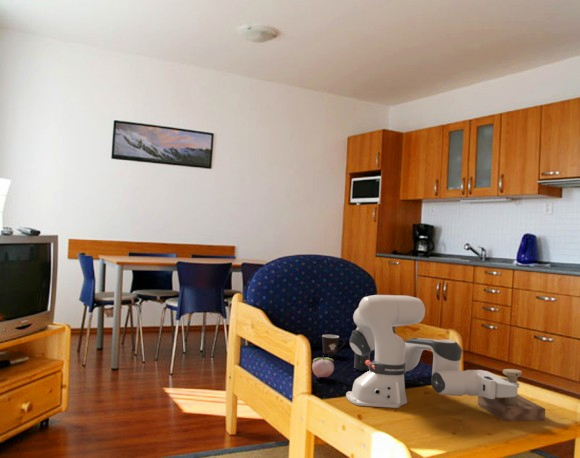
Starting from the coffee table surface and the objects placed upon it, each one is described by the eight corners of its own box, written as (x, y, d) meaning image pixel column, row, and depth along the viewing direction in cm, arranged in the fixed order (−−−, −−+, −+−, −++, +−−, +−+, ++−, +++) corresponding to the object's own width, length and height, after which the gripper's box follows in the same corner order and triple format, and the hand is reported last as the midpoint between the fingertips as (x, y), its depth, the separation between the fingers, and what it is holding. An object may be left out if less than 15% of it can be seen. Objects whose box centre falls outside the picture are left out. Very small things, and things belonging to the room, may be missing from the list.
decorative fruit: (328, 376, 219) (329, 352, 219) (335, 381, 211) (337, 357, 211) (307, 376, 216) (309, 353, 216) (314, 382, 208) (316, 357, 208)
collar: (502, 420, 173) (502, 408, 174) (477, 405, 189) (478, 394, 189) (544, 420, 176) (545, 408, 176) (516, 405, 192) (517, 394, 192)
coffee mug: (320, 357, 253) (321, 337, 253) (321, 353, 261) (322, 334, 262) (343, 359, 251) (344, 339, 251) (344, 355, 260) (345, 335, 260)
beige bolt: (522, 414, 181) (524, 372, 181) (507, 415, 179) (509, 372, 180) (513, 410, 186) (515, 368, 186) (498, 410, 184) (500, 369, 184)
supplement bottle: (371, 370, 233) (372, 343, 233) (365, 373, 227) (366, 346, 227) (357, 367, 236) (358, 341, 237) (351, 370, 231) (352, 343, 231)
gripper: (463, 383, 191) (497, 383, 193) (493, 400, 171) (530, 400, 173) (463, 366, 191) (497, 366, 193) (494, 382, 171) (531, 382, 173)
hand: (513, 382), depth 183 cm, fingers open, 4 cm apart
